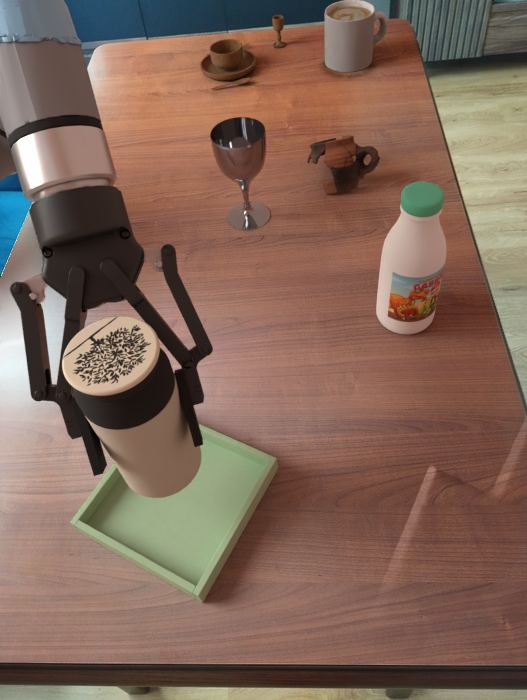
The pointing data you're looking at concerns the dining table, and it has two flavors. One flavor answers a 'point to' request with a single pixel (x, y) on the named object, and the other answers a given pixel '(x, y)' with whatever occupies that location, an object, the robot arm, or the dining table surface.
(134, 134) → the dining table surface
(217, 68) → the place setting
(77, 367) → the travel mug
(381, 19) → the coffee mug
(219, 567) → the tray
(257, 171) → the wine glass
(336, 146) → the pottery mug
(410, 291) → the milk bottle
